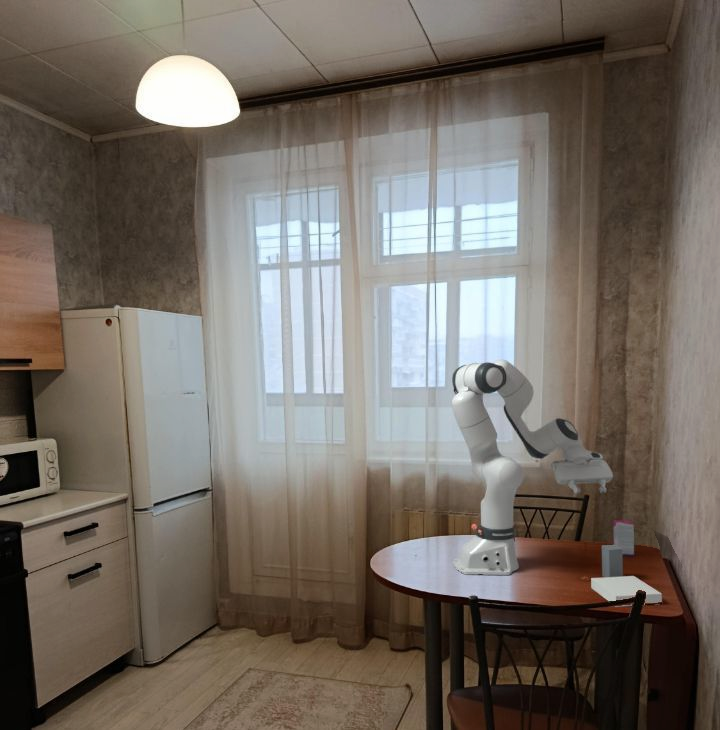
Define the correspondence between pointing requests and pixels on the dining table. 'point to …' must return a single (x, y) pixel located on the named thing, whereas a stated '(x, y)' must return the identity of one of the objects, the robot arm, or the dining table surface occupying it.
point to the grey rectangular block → (612, 561)
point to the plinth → (624, 589)
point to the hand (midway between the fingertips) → (590, 492)
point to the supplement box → (624, 537)
